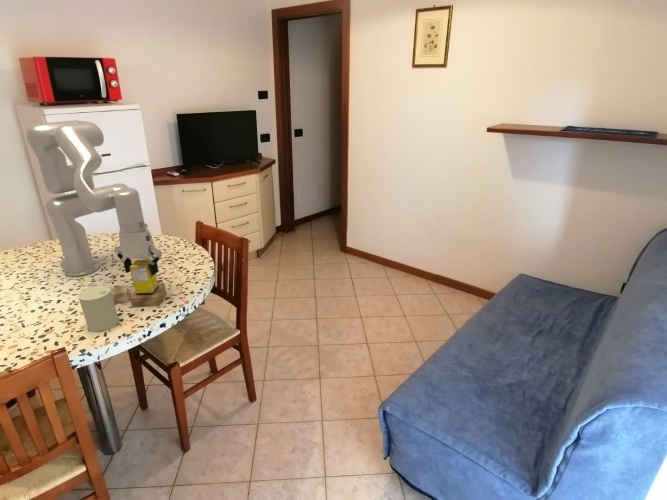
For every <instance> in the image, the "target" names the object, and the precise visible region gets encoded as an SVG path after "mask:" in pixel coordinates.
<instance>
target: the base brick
mask: <svg viewBox="0 0 667 500" xmlns="http://www.w3.org/2000/svg"><path fill="white" fill-rule="evenodd" d="M166 295H167V289H166V284H158V288H157V289H156V291H155V292H154V294H145V295H136V292H135V291H134V292H133V294H132V295H131V297H129V302H130V305H131V309H132V308H148V307H150V308H151V307H152V308H153V307H159V306H160V305H161V303H162V301H163V300H164V299H165V297H166Z"/></svg>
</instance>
